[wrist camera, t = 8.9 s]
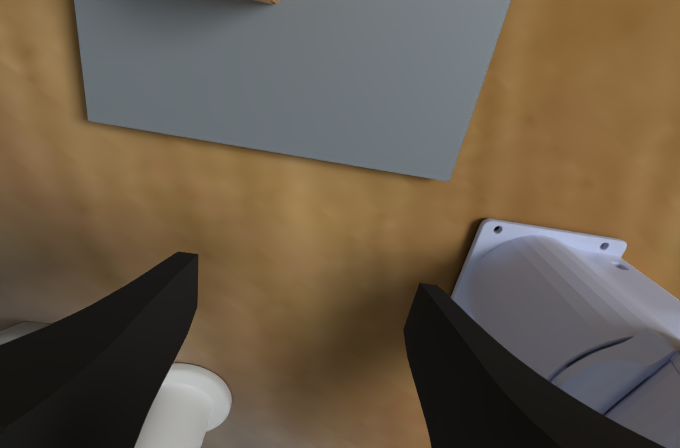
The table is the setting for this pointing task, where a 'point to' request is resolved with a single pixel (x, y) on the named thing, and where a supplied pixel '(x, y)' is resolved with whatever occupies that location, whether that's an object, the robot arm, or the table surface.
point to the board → (295, 74)
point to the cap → (268, 1)
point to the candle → (185, 408)
